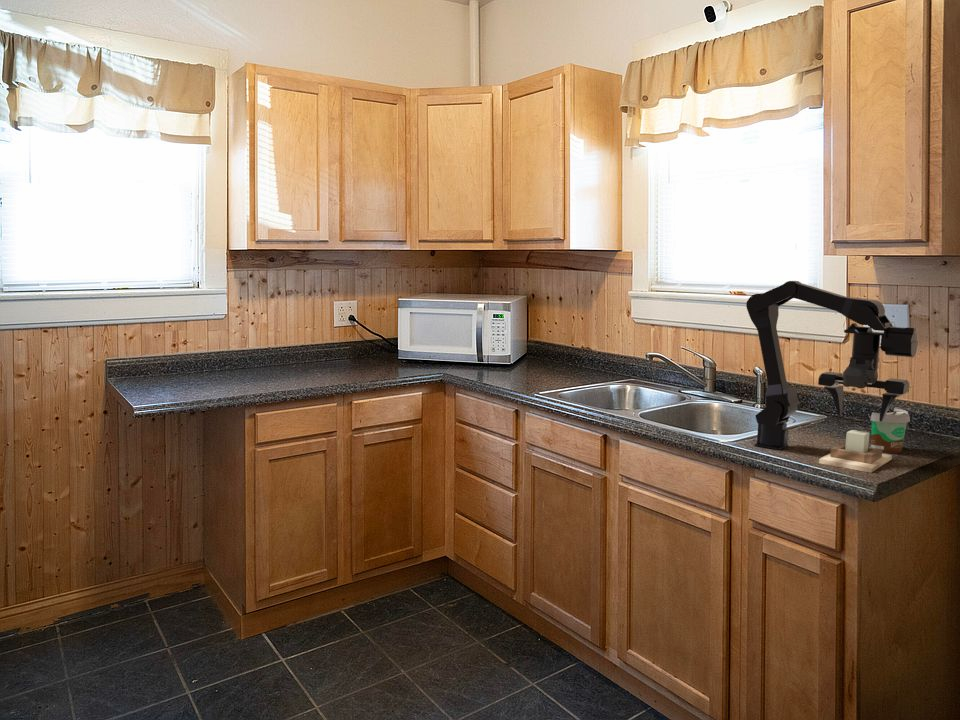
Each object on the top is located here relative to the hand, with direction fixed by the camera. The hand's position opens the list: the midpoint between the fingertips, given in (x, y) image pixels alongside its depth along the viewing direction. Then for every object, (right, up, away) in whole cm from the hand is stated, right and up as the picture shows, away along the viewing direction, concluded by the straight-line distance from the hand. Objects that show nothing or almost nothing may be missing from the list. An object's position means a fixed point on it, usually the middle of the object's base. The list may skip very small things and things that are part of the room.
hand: (860, 418), depth 185 cm
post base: (0, -10, +1) cm, 10 cm away
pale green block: (0, -9, +1) cm, 9 cm away
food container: (+14, -9, +13) cm, 21 cm away
